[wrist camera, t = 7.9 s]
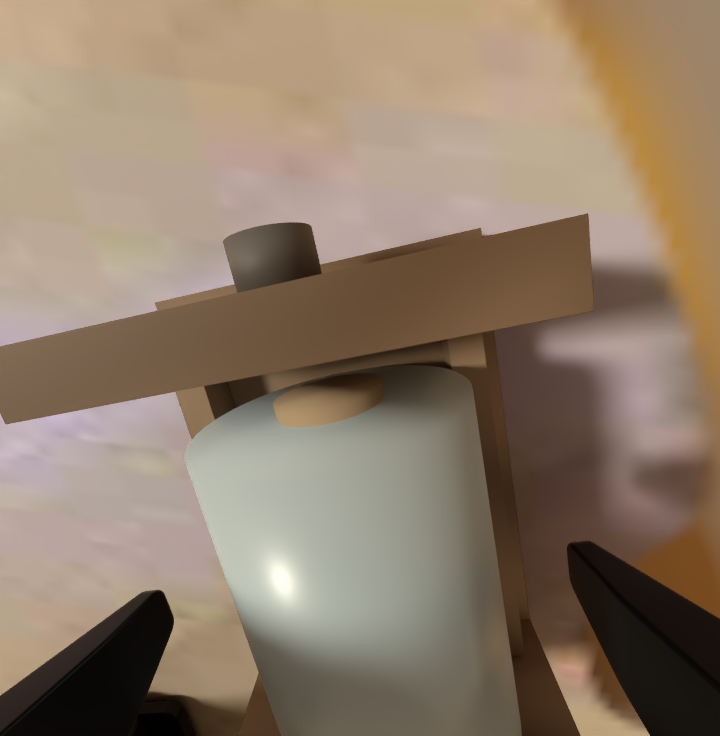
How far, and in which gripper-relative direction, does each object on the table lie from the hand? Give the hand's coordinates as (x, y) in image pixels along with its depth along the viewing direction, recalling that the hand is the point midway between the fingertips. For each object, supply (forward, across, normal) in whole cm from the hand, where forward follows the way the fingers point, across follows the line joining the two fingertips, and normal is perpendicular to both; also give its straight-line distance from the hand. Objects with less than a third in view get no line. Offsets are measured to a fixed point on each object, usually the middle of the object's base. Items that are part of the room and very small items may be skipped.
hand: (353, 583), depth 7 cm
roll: (+3, 0, 0) cm, 3 cm away
